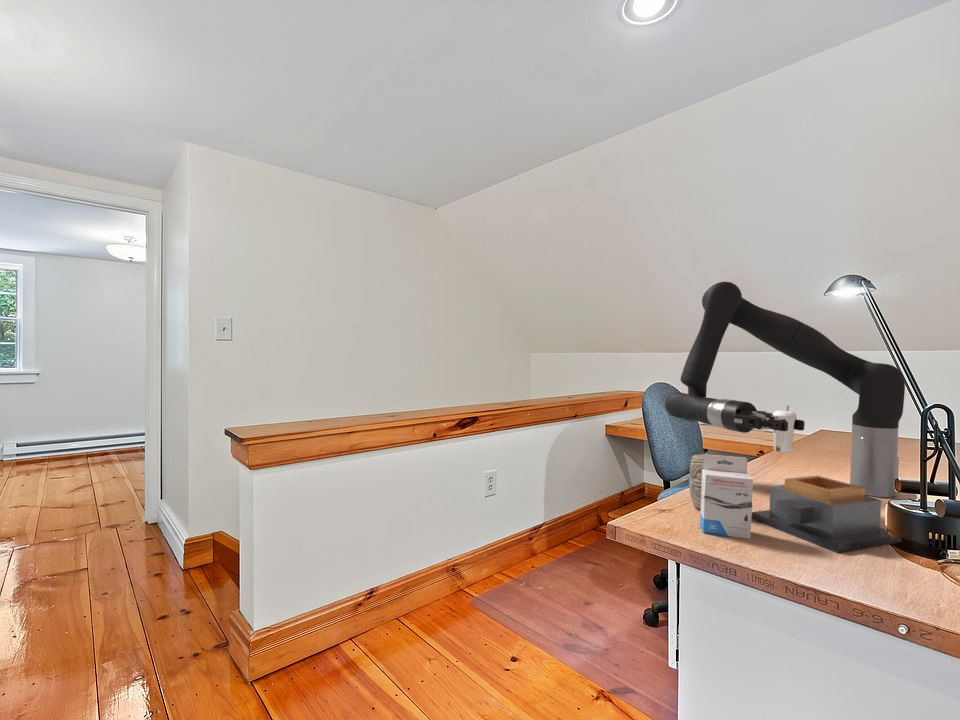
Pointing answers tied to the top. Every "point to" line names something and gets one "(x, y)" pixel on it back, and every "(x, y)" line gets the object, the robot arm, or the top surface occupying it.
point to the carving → (696, 479)
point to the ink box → (726, 497)
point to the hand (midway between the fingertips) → (794, 426)
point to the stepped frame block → (826, 514)
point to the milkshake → (784, 438)
